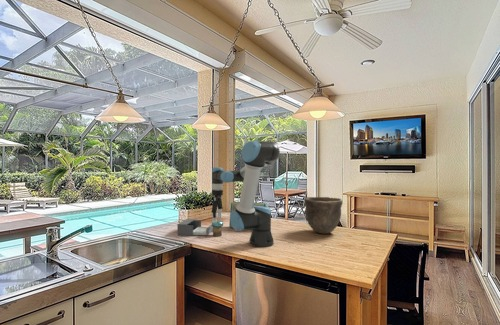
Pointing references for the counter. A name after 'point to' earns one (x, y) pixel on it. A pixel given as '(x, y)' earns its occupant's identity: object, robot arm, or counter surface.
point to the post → (217, 231)
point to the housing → (188, 227)
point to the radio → (233, 204)
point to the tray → (203, 230)
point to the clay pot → (323, 213)
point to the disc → (217, 223)
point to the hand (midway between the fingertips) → (217, 220)
